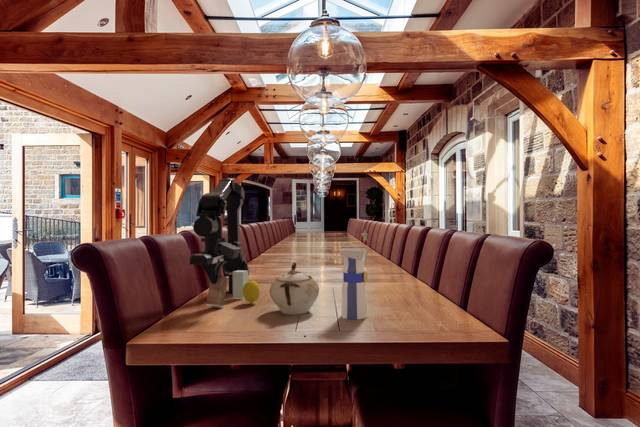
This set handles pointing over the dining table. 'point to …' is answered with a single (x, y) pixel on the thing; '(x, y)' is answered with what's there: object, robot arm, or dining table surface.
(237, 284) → the sage block
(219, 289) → the beige rectangular block
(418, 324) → the dining table surface
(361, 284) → the white blue cross vase
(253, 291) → the lemon
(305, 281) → the sugar bowl
